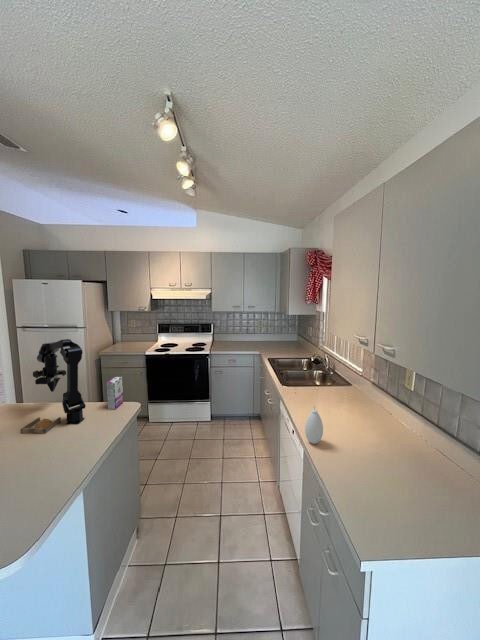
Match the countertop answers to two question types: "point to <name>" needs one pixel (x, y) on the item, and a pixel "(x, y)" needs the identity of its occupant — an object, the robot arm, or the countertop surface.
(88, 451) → the countertop surface
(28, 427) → the wooden bracket
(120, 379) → the candy bar box
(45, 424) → the pastry
